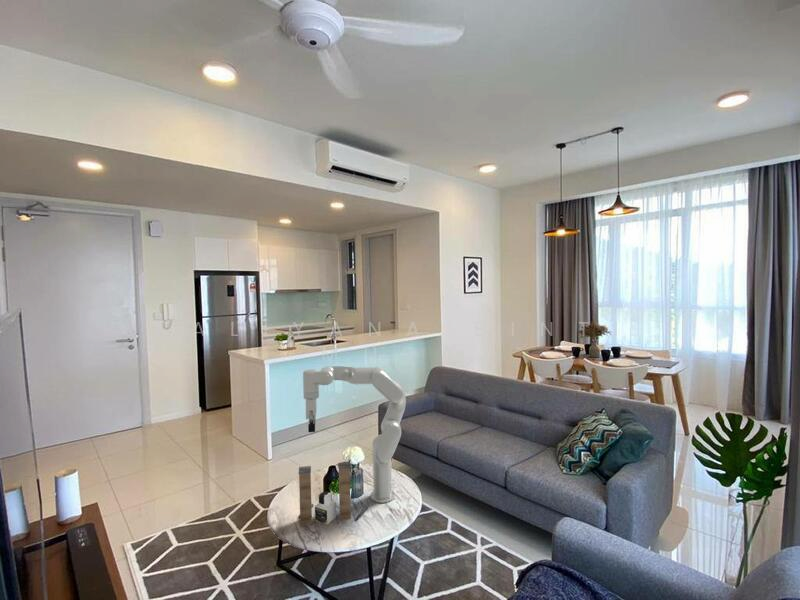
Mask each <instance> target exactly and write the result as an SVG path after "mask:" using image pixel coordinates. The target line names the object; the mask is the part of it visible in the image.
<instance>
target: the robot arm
mask: <svg viewBox="0 0 800 600" xmlns="http://www.w3.org/2000/svg"><path fill="white" fill-rule="evenodd" d="M333 381H341V382H342V381H343V382H347V383H349V384H352V385H372V386H373V387H374V388H375V390H377V391H378V392H379V393H380V394H381V395H382V396H384V398H386V399H387V401H389V403H388V407H387V410H386V413H385V415H384V416H383V419H382V421H381V424H380V430H381V434H378V435H376V436H375V437H374V438H373V439H372V442H371V443H372V444H371V449H372V451H371V452H372V480H373V481H372V484H373V487H372V489H373V490H372V491H371V492H370V499H371V500H372V501H373V502H375V503H380V504H382V503H383V504H384V503H389V502H391V501H392V500H394V499H395V497H396V494H395V491H394V490H393V489H392V486H393V485H394V482H393V480H392V479H393V478H392V458H393V456H394V454H395V452H396V450H397V446H398V444H399V442H400V440H401V436H402V427H401V421H402V419H403V415H404V413H405V410H406V403H407V398H406V393H405V390H404V388H403V387H402V386H401V384H400V383H399V382H398V381H395V380H392V378H391V377H389V375H387V373H386V372H385V370H384V369H383V368H382V367H378V366H377V367H374V366H373V367H371V366H370V367H354V366H343V365H342V366H341V365H340V366H339V365H337V366H336V365H335V366H334V365H332V366H323V367H322V368H321V369H320V370H319V371H318V370H317V369H313V368H312V369H305V370H304V371H303V372H302V386H303V388H302V389H303V399H304V400H305V419H306V420H308V423H307V424H308V426H307V427H308V433H315V432H316V419H317V411H318V410H317V404H318V403H317V399H319V398H320V391H319V389H320V386H330V385H331V384H332V383H333Z"/></svg>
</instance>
